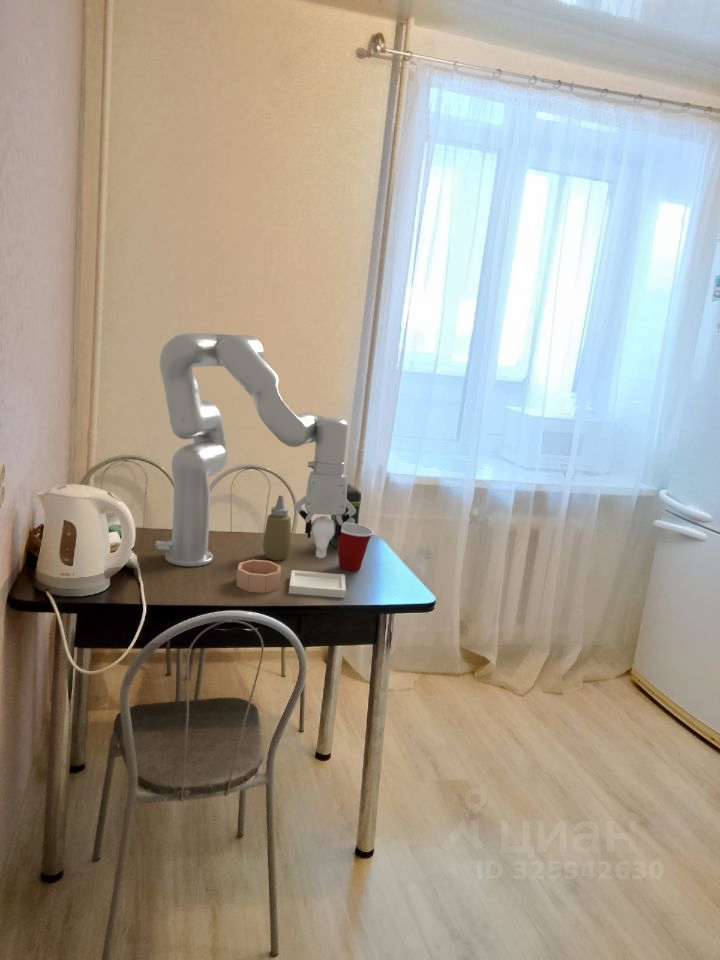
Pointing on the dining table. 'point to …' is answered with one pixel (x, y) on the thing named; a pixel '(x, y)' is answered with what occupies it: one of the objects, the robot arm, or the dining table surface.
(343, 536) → the plastic cup
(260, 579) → the terracotta octagonal ring
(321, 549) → the lightbulb
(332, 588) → the tray
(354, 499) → the coffee jar
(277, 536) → the squeeze bottle
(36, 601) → the dining table surface
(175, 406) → the robot arm
